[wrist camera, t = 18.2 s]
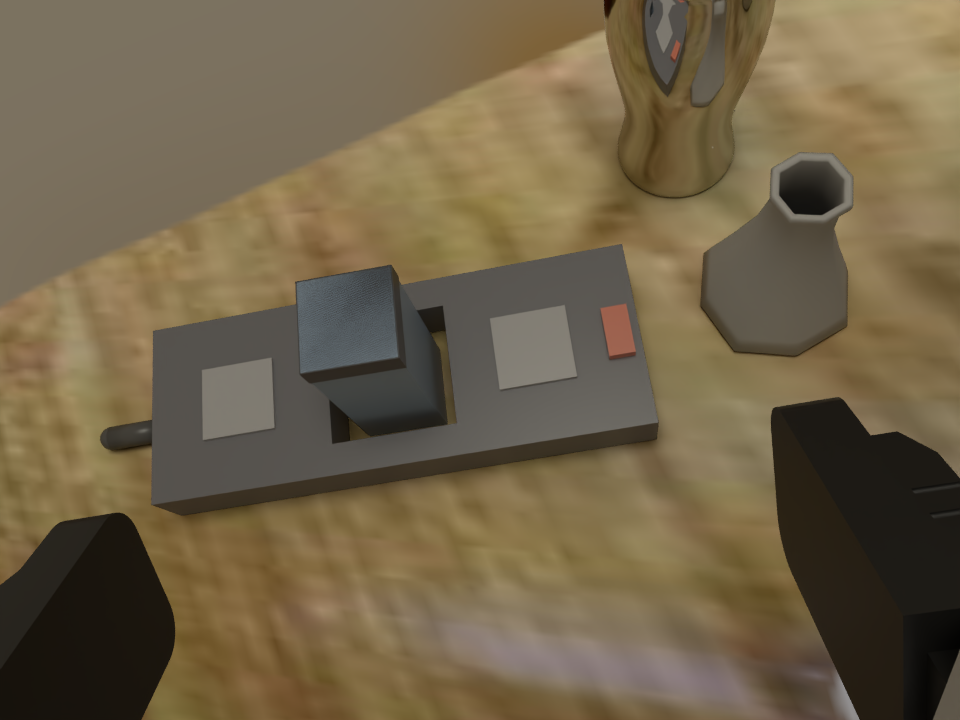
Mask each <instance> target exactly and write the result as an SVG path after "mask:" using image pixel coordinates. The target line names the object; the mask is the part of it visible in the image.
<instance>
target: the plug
mask: <svg viewBox="0 0 960 720" xmlns="http://www.w3.org/2000/svg"><path fill="white" fill-rule="evenodd" d="M295 284H296V308H297V332H298V356H299V375H300V376H302V377H303V378H304V379H305V380H306V381H307V382H308V383H309V384H311V383H312V384H313V385H314V386H315V387H316V388H317V389H319V390H320V391H321V392H322V393H323V394H324V395H325V396H326V397H327V398H328V399H330V400H331V401H332V402H333V403H334V404H335V405H336V406H337V407H338V408H340V409H341V410H342V411H343V412H344V413H345V414H346V415H347V416H348V417H349V418H351V419H352V420H353V421H354V422H355V423H356V424H357V425H358V426H359V427H360V428H362V429H363V430H364V431H365V432H366V433H367V434H368V435H369V436H375V435H381V434H388V433H394V432H400V431H407V430H413V429H420V428H426V427H433V426H439V425H445V424H448V423H447V413H446V404H445V394H444V384H443V375H442V365H441V355H440V349H439V347H438V346H437V344H436V342H435V341H434V339H433V337H432V336H431V334H430V332H429V331H428V329H427V327H426V325H425V324H424V322H423V320H422V319H421V317H420V315H419V314H418V312H417V310H416V309H415V307H414V305H413V304H412V302H411V300H410V298H409V297H408V295H407V293H406V292H405V290H404V288H403V287H402V285H401V283H400V282H399V277H398V275H397V273H396V272H395V270H394V268H393V267H392V265H387V266H382V267H376V268H370V269H365V270H359V271H353V272H348V273H342V274H337V275H331V276H325V277H320V278H314V279H308V280H303V281H297V282H295Z"/></svg>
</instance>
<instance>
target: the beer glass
mask: <svg viewBox="0 0 960 720" xmlns="http://www.w3.org/2000/svg"><path fill="white" fill-rule="evenodd" d="M775 1H776V0H604V20H605V32H606V41H607V46H608V50H609V55H610V59H611V64H612V67H613V70H614V74H615V77H616V80H617V84H618V87H619V90H620V93H621V96H622V100H623V104H624V108H625V117H624V122H623V125H622V128H621V131H620V135H619V139H618V158H619V162H620V164H621V167H622V169H623V171H624V172H625V174H626V175H627V177H628V178H629V179H630V180H631V181H632V182H633V183H634V184H635V185H636V186H638V187H639V188H641V189H642V190H644V191H646V192H649V193H651V194H654V195H657V196H662V197H670V198H679V197H687V196H691V195H695V194H698V193H700V192H703V191H705V190H706V189H708V188H710V187H711V186H713V185H714V184H715V183H717V182H718V181H719V180H720V179H721V178H722V177H723V175H724V174H725V173H726V171H727V170H728V168H729V166H730V164H731V162H732V159H733V155H734V149H735V142H734V134H733V128H732V118H733V113H734V111H735V110H734V109H735V107H736V105H737V103H738V101H739V99H740V97H741V95H742V93H743V91H744V89H745V87H746V85H747V83H748V81H749V79H750V77H751V75H752V73H753V71H754V69H755V67H756V65H757V62H758V60H759V57H760V55H761V52H762V50H763V47H764V45H765V42H766V39H767V36H768V32H769V28H770V24H771V21H772V17H773V13H774V7H775Z"/></svg>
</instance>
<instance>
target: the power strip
mask: <svg viewBox="0 0 960 720" xmlns="http://www.w3.org/2000/svg"><path fill="white" fill-rule="evenodd" d="M402 287H403V288H404V290H405V292H406V293H407V295H408V297H409V298H410V300H411V302H412V304H413V305H414V307H415V309H416V310H417V312H418V314H419V315H420V317H421V319H422V320H423V322H424V324H425V325H426V327H427V329H428V331H429V332H435V331H441V330H446V335H447V344H448V352H449V361H450V369H451V377H452V386H453V394H454V403H455V411H456V419H457V423H455V424H449V425H443V426H437V427H431V428H425V429H419V430H413V431H407V432H401V433H395V434H389V435H383V436H377V437H371V438H365V439H359V440H353V441H350V438H349V424H348V416H347V415H346V414H345V413H344V412H343V411H342V410H341V409H340V408H338V407H337V406H336V405H335V404H334V403H333V402H332V401H331V400H330V399H328V398H327V397H326V396H325V395H324V394H323V393H322V392H321V391H320V390H319V389H317V388H316V387H315V386H314V385H313V384H312V383H311V384H309V383H308V382H307V381H306V380H305V379H304V378H303V377H302V376H300V375H299V356H298V332H297V308H296V305H291V306H285V307H280V308H275V309H269V310H264V311H258V312H253V313H248V314H242V315H237V316H231V317H226V318H221V319H215V320H210V321H204V322H199V323H194V324H188V325H183V326H178V327H172V328H167V329H161V330H156V331H153V400H152V420H148V421H143V422H137V423H131V424H125V425H120V426H114V427H109V428H107V429H105V430H104V431H103V432H102V434H101V436H100V441H101V444H102V445H103V446H104V447H105V448H106V449H109V450H116V449H122V448H127V447H133V446H139V445H145V444H151V443H152V504H151V505H153V506H156V507H159V508H162V509H165V510H167V511H170V512H173V513H176V514H179V515H188V514H194V513H200V512H207V511H213V510H219V509H225V508H231V507H238V506H244V505H250V504H256V503H263V502H269V501H275V500H281V499H287V498H294V497H300V496H306V495H312V494H318V493H325V492H331V491H337V490H343V489H350V488H356V487H362V486H368V485H374V484H381V483H387V482H393V481H399V480H406V479H412V478H418V477H424V476H430V475H437V474H443V473H449V472H455V471H462V470H468V469H474V468H480V467H486V466H493V465H499V464H505V463H511V462H518V461H524V460H530V459H536V458H542V457H549V456H555V455H561V454H567V453H574V452H580V451H586V450H592V449H598V448H605V447H611V446H617V445H623V444H629V443H636V442H642V441H648V440H654V439H657V432H658V423H659V422H658V417H657V412H656V408H655V403H654V398H653V393H652V388H651V383H650V378H649V373H648V368H647V364H646V359H645V354H644V349H643V344H642V339H641V334H640V329H639V324H638V320H637V315H636V310H635V305H634V300H633V295H632V290H631V285H630V280H629V276H628V271H627V266H626V261H625V256H624V251H623V246H622V244H620V245H614V246H609V247H603V248H598V249H593V250H587V251H582V252H576V253H571V254H566V255H560V256H555V257H549V258H544V259H539V260H533V261H528V262H523V263H517V264H512V265H506V266H501V267H496V268H490V269H485V270H479V271H474V272H469V273H463V274H458V275H452V276H447V277H442V278H436V279H431V280H426V281H420V282H415V283H409V284H404V285H402Z"/></svg>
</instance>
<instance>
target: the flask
mask: <svg viewBox="0 0 960 720" xmlns="http://www.w3.org/2000/svg"><path fill="white" fill-rule="evenodd" d="M852 207H853V176H852V174H851V173H850V172H849V171H848V170H847V169H846V168H845V167H844V165H843V164H842V163H841V162H840V161H839V160H838V159H837V157H836V156H835V155H834V154H833V153H807V152H799V153H797V154H795V155H794V156H792V157H790V158H788V159H787V160H785V161H783V162H781V163H780V164H778V165H776V166H775V167H773V168H772V169H771V178H770V199H769V200H768V202H767V203H766V204H765V206H764V207H763V208H762V210H761V211H760V213H759V214H758V215H757V216H756V217H754V218H753V219H752V220H750V221H749V222H748V223H746V224H745V225H744V226H742V227H741V228H740V229H738V230H737V231H736V232H734V233H733V234H731V235H730V236H728V237H727V238H725V239H724V240H722V241H721V242H719V243H718V244H716V245H715V246H713V247H711V248H710V249H709V250H707V251H706V252H705V253H704V259H703V274H702V290H701V306H702V308H703V309H704V311H705V312H706V313H707V315H708V316H709V317H710V319H711V320H712V321H713V323H714V324H715V326H716V327H717V328H718V330H719V331H720V332H721V334H722V335H723V336H724V338H725V339H726V341H727V342H728V343H729V345H730V346H731V347H732V349H733V350H734V351H740V352H754V353H767V354H781V355H794V356H797V355H798V354H800V353H802V352H803V351H805V350H807V349H808V348H810V347H812V346H814V345H815V344H817V343H819V342H820V341H822V340H824V339H826V338H827V337H829V336H831V335H832V334H834V333H836V332H837V331H839V330H841V329H843V328H844V327H846V326H847V301H848V271H847V267H846V264H845V261H844V259H843V256H842V253H841V251H840V248H839V245H838V241H837V237H836V234H835V230H834V227H835V225H836V222H837V220H838V218H839V216H841V215H843V214H844V213H846V212H848V211H849V210H851V209H852Z"/></svg>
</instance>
